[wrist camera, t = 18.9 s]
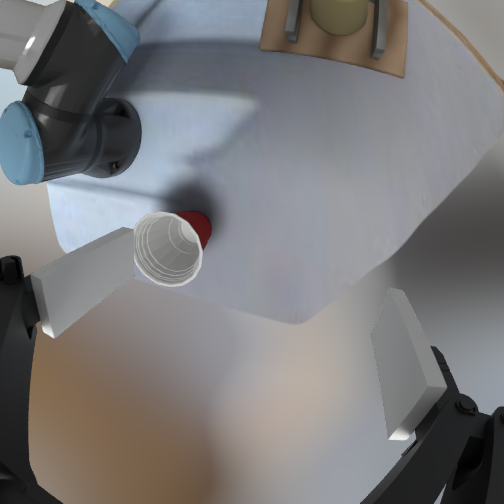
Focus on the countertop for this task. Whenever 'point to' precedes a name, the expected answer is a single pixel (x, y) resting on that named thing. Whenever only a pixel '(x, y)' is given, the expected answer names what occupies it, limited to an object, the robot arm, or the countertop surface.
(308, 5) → the u rest
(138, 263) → the plastic cup
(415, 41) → the countertop surface
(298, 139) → the countertop surface
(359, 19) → the squeeze bottle
